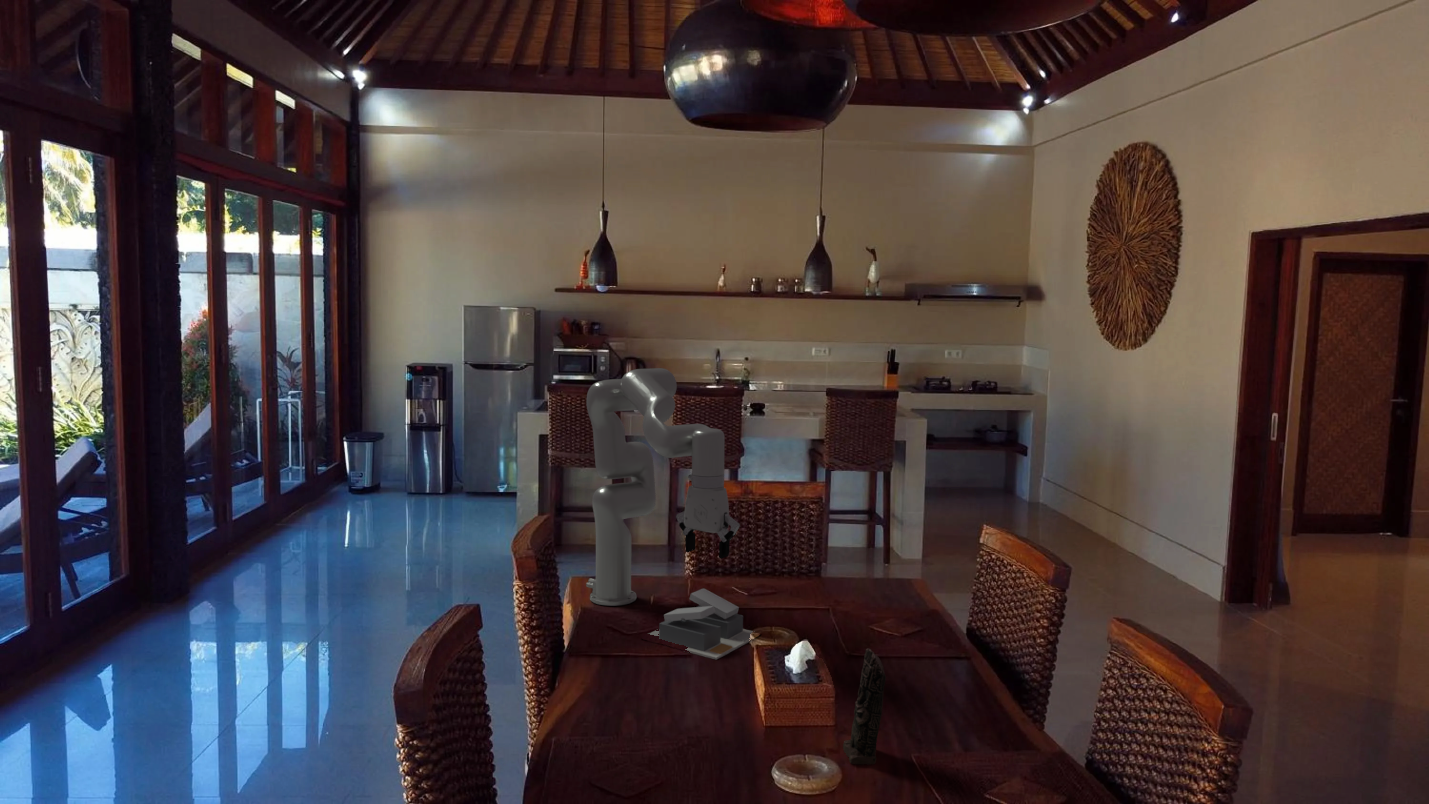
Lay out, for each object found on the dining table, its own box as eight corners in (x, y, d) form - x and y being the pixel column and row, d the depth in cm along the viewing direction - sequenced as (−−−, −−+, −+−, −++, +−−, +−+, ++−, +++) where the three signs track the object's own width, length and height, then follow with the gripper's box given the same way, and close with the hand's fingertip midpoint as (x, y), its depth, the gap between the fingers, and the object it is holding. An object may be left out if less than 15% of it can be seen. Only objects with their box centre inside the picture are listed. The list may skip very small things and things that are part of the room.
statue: (841, 747, 184) (845, 644, 182) (879, 746, 185) (883, 643, 182) (849, 765, 177) (853, 657, 175) (888, 764, 178) (893, 657, 176)
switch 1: (665, 623, 237) (663, 614, 237) (679, 617, 241) (677, 608, 241) (702, 621, 231) (700, 611, 231) (715, 614, 235) (713, 605, 235)
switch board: (640, 639, 239) (640, 621, 238) (688, 617, 255) (688, 600, 255) (716, 659, 226) (716, 640, 226) (761, 635, 243) (761, 617, 243)
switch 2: (688, 601, 245) (690, 593, 244) (701, 595, 249) (703, 588, 249) (724, 621, 239) (726, 613, 239) (736, 615, 244) (739, 607, 243)
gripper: (668, 479, 232) (667, 551, 233) (730, 488, 222) (729, 563, 224) (686, 475, 238) (686, 545, 240) (748, 483, 228) (746, 556, 230)
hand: (706, 554), depth 232 cm, fingers open, 9 cm apart
